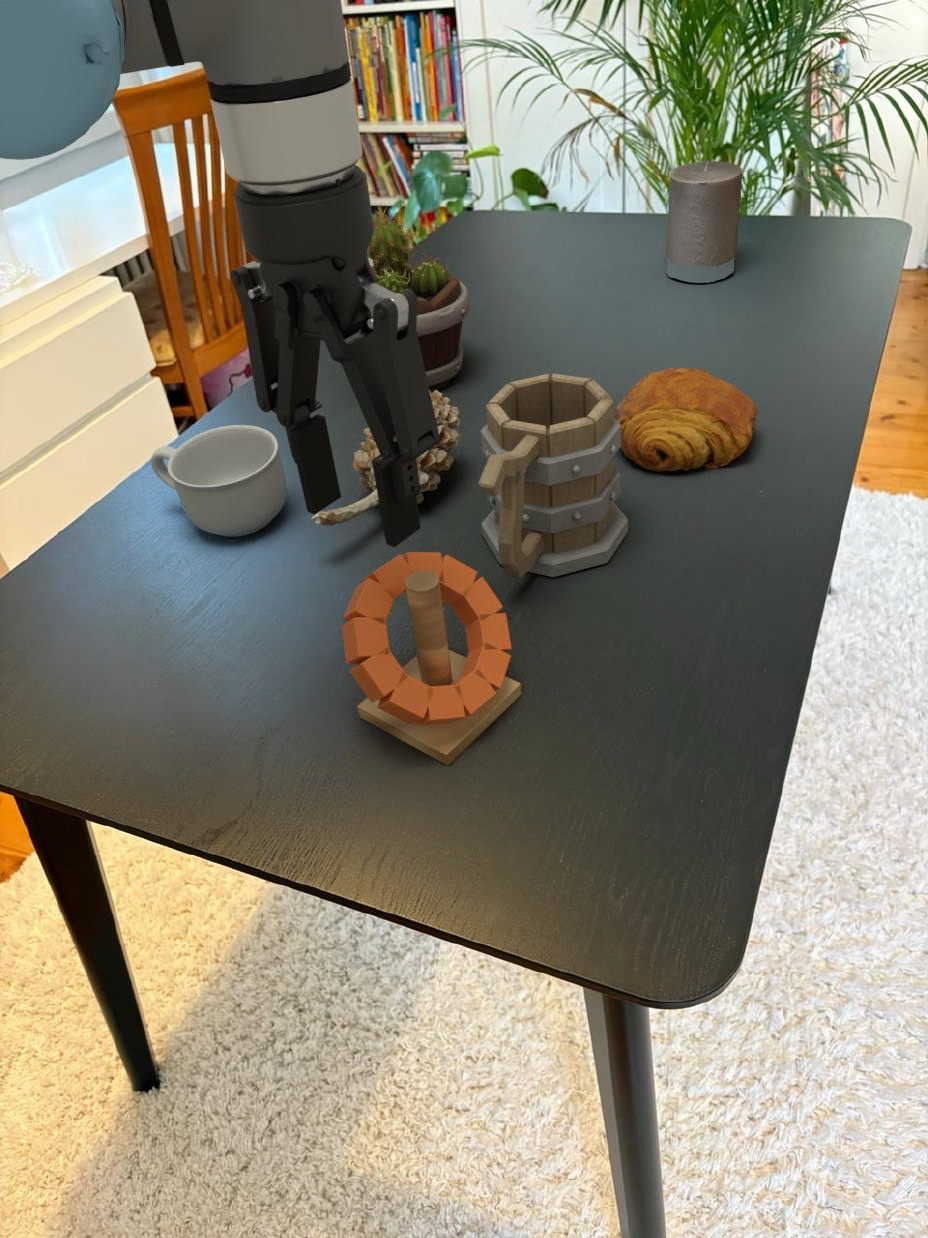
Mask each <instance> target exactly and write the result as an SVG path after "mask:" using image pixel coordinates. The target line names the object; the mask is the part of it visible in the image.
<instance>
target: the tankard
mask: <svg viewBox="0 0 928 1238" xmlns="http://www.w3.org/2000/svg"><path fill="white" fill-rule="evenodd" d="M613 398H614V397H613ZM613 398H612V396H611V394H609V393H608V392H607V391H606V390H605V389H604V388H603V387H602V386H601V385H600V384H599V383H598V382H597V381H596V380H595V379H592V378H589V377H581V376H574V375H567V374H560V373H559V374H558V373H552V374H551V376H550V374H549V373H544V374H541V375H536V376H532V377H527V378H524V379H523V378H522V379H518V380H514V381H510V382H508V383H506V384H505V385H504V386H503V387H502V388H501V389H500V390H499V391H498V392H497V393H496V394H495V395H494V396H493V397H492V398H490V400H489V401H488V402H487V403H486V404H485V410H486V411H485V412H486V422H487V423H486V424H485V425H484V426H483V427H482V429H481V430H480V441H481V449H482V450H481V451H482V453H483V455H484V456H485V457H486V460H487V461H486V463H485V466H484V468H483V471H482V473H481V476H480V478H479V481H478V487H480V489H481V491H482V492H483V493H484V494H485V495H486V499H487V501H488V502H489V504H490V505H491V507H492V508H493V510H492V511H491V512H490V513H489V514H488V515H487V516H486V518H484V520H483V521H482V522H481V523H480V525H481V534H482V537H483V538H484V540H485V542H486V543H487V545H488V547H489V548H490V550H491V552H492V553H493V555H494V557H495V559H496V560H497V562H498V564H499V565H500V566H502V567H503V568H504V570H505V572H506V573H507V575H508V576H509V577H510V578H514V579H522V577H523V576H524V575H525V574H527V572H529V573H533V574H537V575H541V576H545V577H549V578H556V577H561V576H564V575H567V574H571V573H572V574H573V573H575V572H579V571H582V570H586V569H589V568H593V567H597V566H601V565H605V564H607V563H609V562H610V560H611V558H612V557H613V555H614V553H615V552H616V550H617V549H618V548H619V546H620V544H621V543H622V541H623V540H624V538H625V537H626V535H627V534H628V532H629V518H627V517H626V515H625V514H624V512H622V510H620V508H619V507H618V505H616V503H615V502H616V500H617V499H618V498H619V496H620V495H621V483H622V481H621V480H622V479H621V476H622V475H621V472H619V470H618V469H617V468H616V467H615V465H614V456H615V455H616V454H617V452H618V451H619V449H621V425H620V424H619V423H618V422H617V421H616V419H615V418H614V399H613Z"/></svg>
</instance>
